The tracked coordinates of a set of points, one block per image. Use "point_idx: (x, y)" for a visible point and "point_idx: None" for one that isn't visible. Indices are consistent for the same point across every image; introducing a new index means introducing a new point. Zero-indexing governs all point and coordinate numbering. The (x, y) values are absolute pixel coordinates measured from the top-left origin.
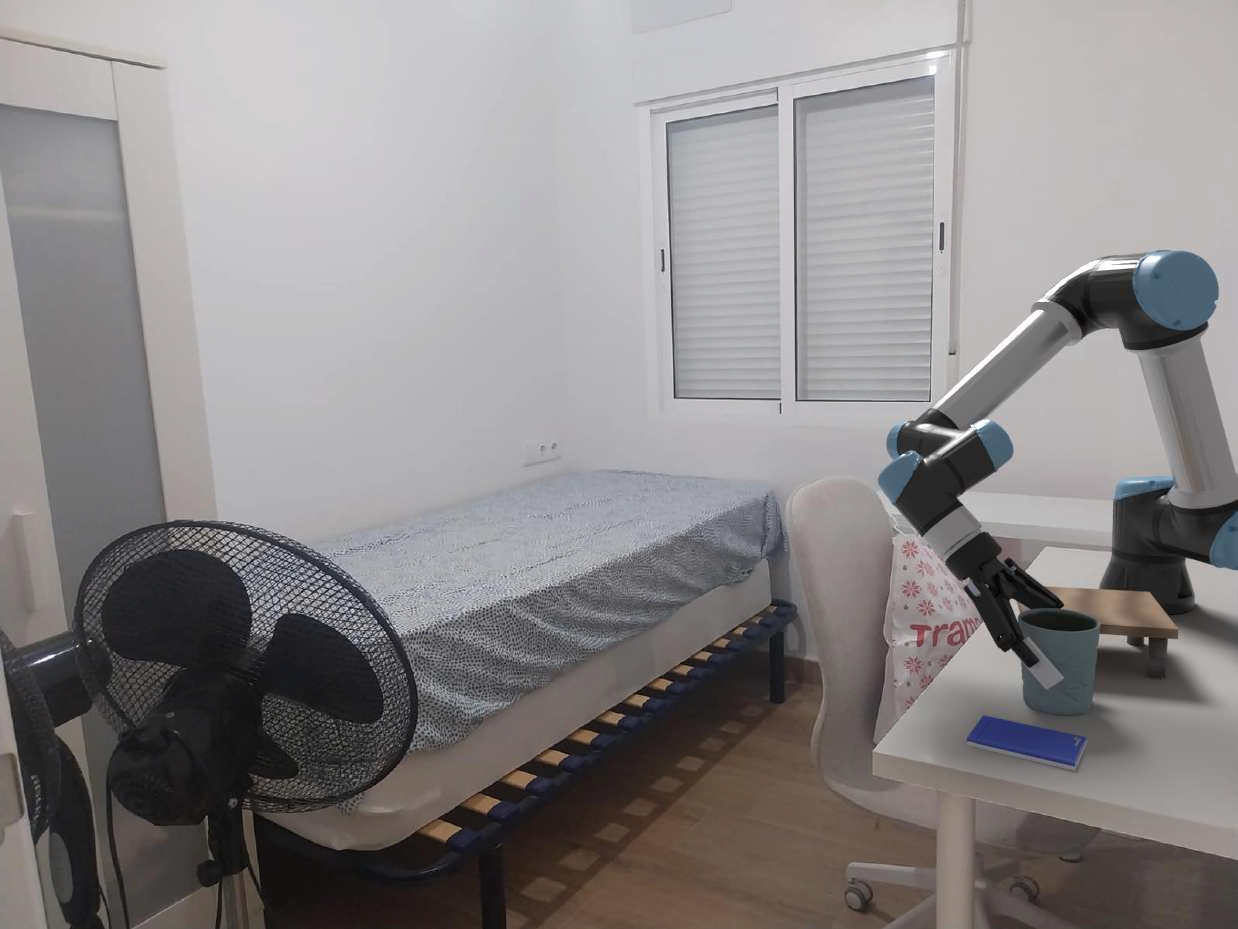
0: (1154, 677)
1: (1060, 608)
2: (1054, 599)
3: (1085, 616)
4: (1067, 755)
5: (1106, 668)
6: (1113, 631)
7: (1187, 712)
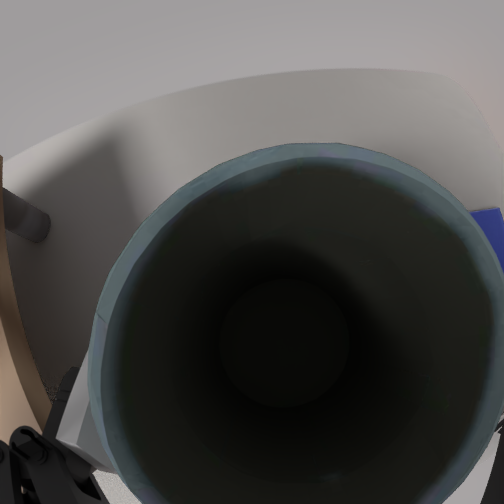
0: (48, 223)
1: (44, 438)
2: (12, 469)
3: (131, 281)
4: (495, 221)
5: (42, 310)
6: (4, 272)
7: (169, 135)
